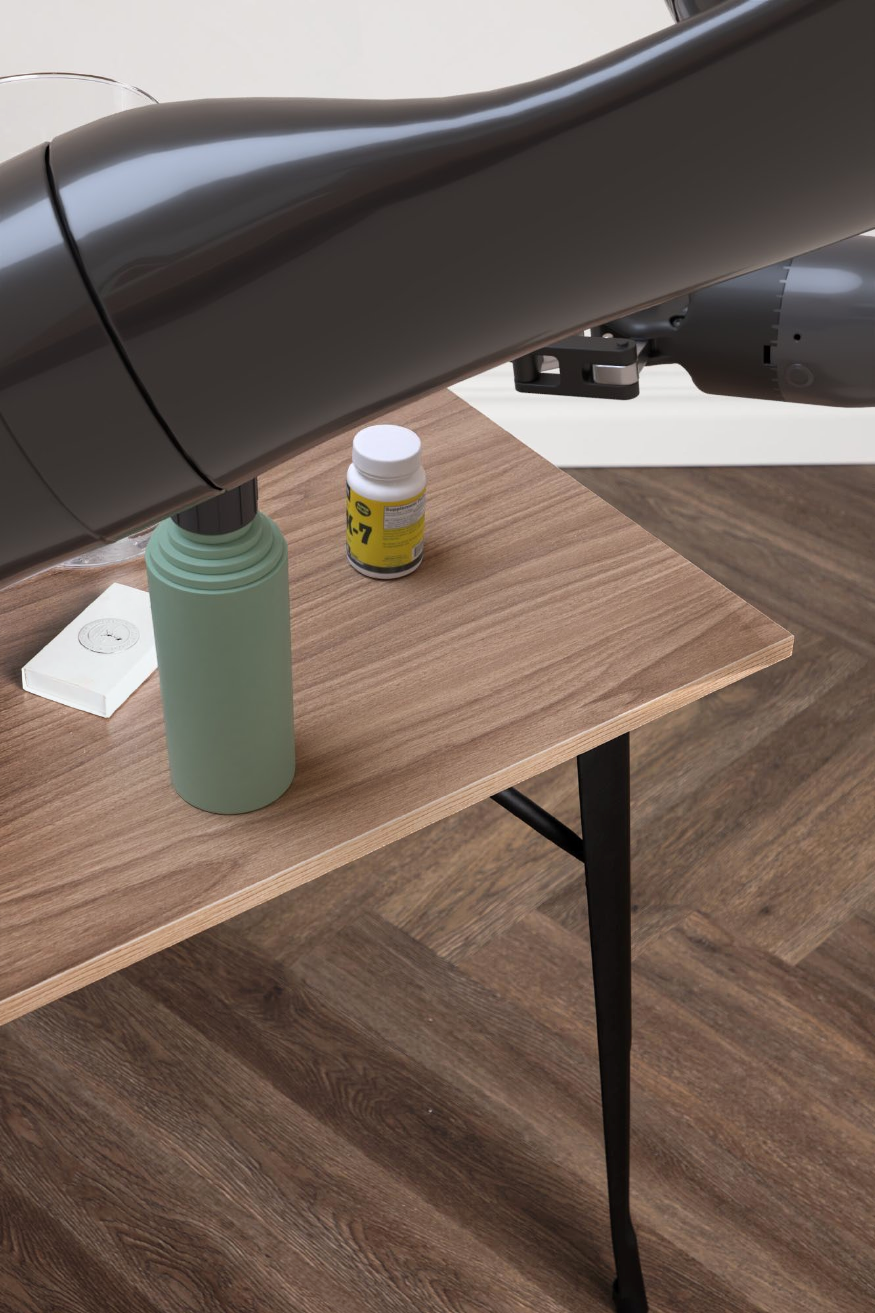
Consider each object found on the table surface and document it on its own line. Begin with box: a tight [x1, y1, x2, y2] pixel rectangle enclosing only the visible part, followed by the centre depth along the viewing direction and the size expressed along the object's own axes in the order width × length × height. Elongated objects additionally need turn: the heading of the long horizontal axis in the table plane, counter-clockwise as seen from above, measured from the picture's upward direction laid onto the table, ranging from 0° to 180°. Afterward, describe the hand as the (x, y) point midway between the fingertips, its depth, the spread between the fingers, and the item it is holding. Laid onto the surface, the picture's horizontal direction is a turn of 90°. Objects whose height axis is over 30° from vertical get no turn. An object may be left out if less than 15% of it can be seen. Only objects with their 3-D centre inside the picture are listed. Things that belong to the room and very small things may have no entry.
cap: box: [170, 476, 259, 535], centre depth 62 cm, size 4×4×3 cm
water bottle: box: [144, 509, 296, 815], centre depth 67 cm, size 6×6×19 cm
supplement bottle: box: [345, 424, 427, 580], centre depth 85 cm, size 5×5×8 cm
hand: (489, 295), depth 71 cm, fingers open, 8 cm apart
